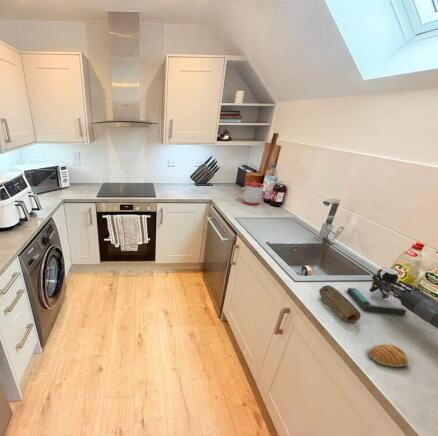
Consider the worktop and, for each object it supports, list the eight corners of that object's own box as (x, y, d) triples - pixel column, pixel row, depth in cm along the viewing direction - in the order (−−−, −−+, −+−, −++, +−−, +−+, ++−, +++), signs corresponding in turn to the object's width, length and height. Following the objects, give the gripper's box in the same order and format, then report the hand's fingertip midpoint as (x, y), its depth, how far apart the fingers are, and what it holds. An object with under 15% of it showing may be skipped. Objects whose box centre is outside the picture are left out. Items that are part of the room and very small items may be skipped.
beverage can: (379, 300, 92) (392, 275, 88) (364, 291, 97) (376, 266, 93) (391, 299, 93) (404, 274, 88) (376, 289, 98) (387, 265, 94)
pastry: (382, 370, 71) (387, 362, 70) (361, 350, 77) (365, 342, 76) (409, 366, 72) (414, 358, 71) (385, 347, 79) (390, 339, 77)
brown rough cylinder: (313, 296, 100) (318, 284, 98) (328, 295, 101) (333, 283, 98) (343, 325, 87) (349, 311, 84) (360, 323, 87) (367, 310, 85)
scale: (382, 295, 101) (385, 290, 100) (403, 315, 91) (407, 309, 90) (346, 291, 103) (349, 286, 102) (363, 310, 93) (366, 304, 92)
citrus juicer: (238, 199, 217) (242, 178, 209) (258, 201, 213) (263, 179, 205) (240, 205, 203) (244, 182, 195) (261, 207, 199) (266, 184, 191)
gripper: (451, 298, 78) (397, 268, 94) (411, 299, 78) (364, 269, 93) (440, 315, 81) (390, 283, 97) (401, 316, 81) (357, 284, 96)
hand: (377, 276), depth 95 cm, fingers closed on beverage can, 3 cm apart
